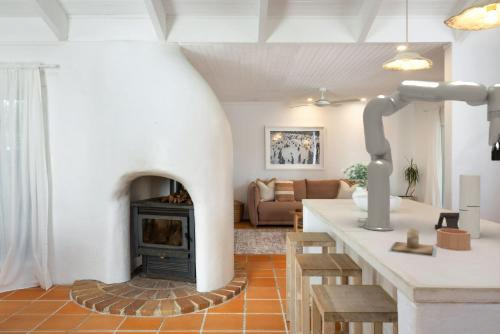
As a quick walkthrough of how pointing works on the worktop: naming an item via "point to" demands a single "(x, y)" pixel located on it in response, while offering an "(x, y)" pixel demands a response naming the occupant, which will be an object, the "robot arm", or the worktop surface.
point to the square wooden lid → (413, 244)
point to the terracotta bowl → (453, 239)
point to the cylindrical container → (469, 204)
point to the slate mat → (415, 254)
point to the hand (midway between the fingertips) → (498, 160)
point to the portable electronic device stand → (448, 221)
